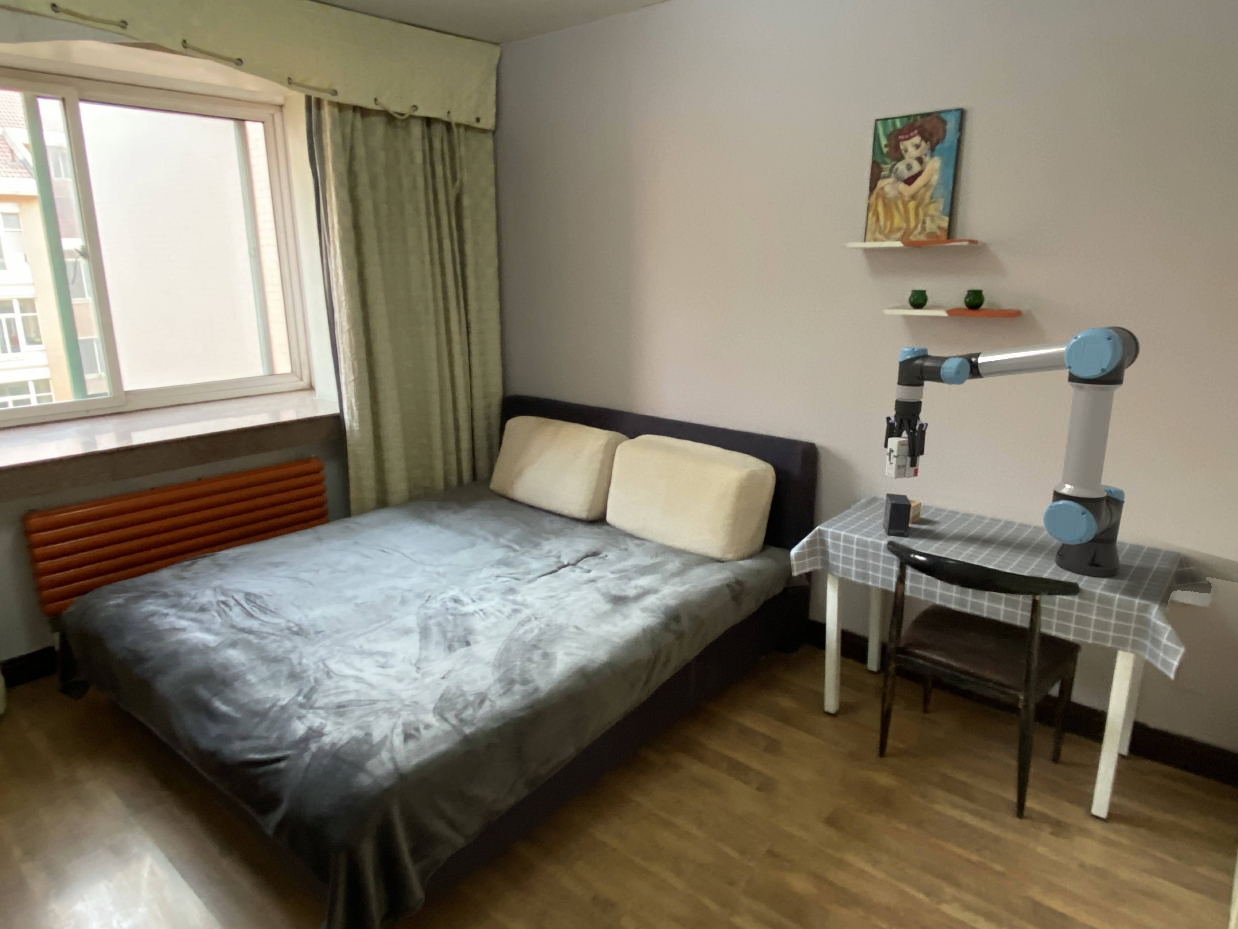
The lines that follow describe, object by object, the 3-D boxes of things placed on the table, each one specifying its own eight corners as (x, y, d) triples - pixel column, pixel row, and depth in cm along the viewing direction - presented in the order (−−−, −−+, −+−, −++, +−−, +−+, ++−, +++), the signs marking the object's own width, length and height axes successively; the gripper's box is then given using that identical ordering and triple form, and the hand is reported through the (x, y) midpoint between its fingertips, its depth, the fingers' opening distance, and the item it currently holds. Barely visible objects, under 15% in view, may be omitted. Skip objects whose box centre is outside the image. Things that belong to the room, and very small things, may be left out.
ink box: (907, 472, 235) (911, 435, 233) (918, 476, 231) (922, 438, 228) (883, 474, 233) (887, 437, 230) (894, 478, 228) (898, 440, 225)
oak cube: (919, 520, 247) (921, 502, 246) (911, 524, 243) (913, 506, 241) (901, 515, 251) (903, 498, 250) (893, 519, 247) (894, 501, 246)
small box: (909, 537, 230) (912, 503, 228) (886, 535, 232) (889, 502, 229) (903, 526, 240) (907, 494, 238) (882, 524, 242) (885, 492, 239)
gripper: (943, 402, 220) (934, 480, 226) (892, 394, 236) (885, 466, 241) (926, 404, 217) (917, 483, 222) (875, 395, 232) (868, 469, 238)
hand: (900, 474), depth 232 cm, fingers closed on ink box, 5 cm apart
